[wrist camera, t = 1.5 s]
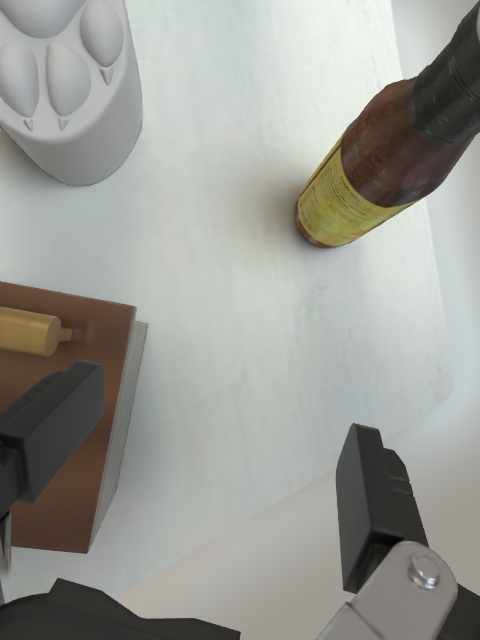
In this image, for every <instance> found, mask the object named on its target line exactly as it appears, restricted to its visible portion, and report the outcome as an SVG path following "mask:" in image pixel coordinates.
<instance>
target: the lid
mask: <svg viewBox="0 0 480 640" xmlns="http://www.w3.org/2000/svg"><path fill="white" fill-rule="evenodd" d="M136 311H137V307H135V306H131V305H126V304H120V303H115V302H109V301H104V300H98V299H93V298H88V297H82V296H77V295H71V294H66V293H61V292H55V291H50V290H44V289H39V288H33V287H28V286H23V285H17V284H12V283H6V282H1V281H0V413H2V412H3V411H4V410H5V409H6V408H7V407H9V406H10V405H11V404H12V403H13V402H15V401H16V400H17V399H20V398H21V396H22V395H23V394H24V393H25V392H27V391H28V390H31V387H33V386H34V385H35V384H36V383H37V382H39V381H40V380H41V379H42V378H44V377H46V376H48V375H51V374H53V373H55V372H57V371H63V372H65V371H66V370H67V369H68V368H69V367H70V366H71V365H73V364H74V363H75V362H76V361H77V360H80V359H81V360H85V361H89V362H94V363H98V364H102V365H103V366H104V368H105V407H104V411H103V414H102V416H101V418H100V420H99V421H98V423H97V424H96V425H95V427H94V428H93V429H92V430H91V432H90V433H89V434H88V435H87V437H86V438H85V439H84V440H83V442H82V443H81V444H80V445H79V447H78V448H77V449H76V450H75V452H74V453H73V454H72V455H71V457H70V458H69V459H68V460H67V462H66V463H65V464H64V465H63V467H62V468H61V469H60V470H59V472H58V473H57V474H56V475H55V477H54V478H53V479H52V481H51V482H50V483H49V484H48V486H47V487H46V488H45V489H44V491H43V492H42V493H41V494H40V496H39V497H38V498H37V499H36V501H35V502H34V503H33V504H32V505H30V504H27V503H23V502H20V501H16V502H15V503H14V504H13V506H12V507H11V513H12V531H11V546H13V547H23V548H33V549H43V550H53V551H63V552H73V553H83V554H87V553H88V551H89V549H90V547H91V543H92V538H93V533H94V528H95V522H96V517H97V512H98V507H99V502H100V497H101V491H102V486H103V481H104V476H105V471H106V466H107V460H108V455H109V450H110V445H111V440H112V435H113V429H114V424H115V419H116V414H117V409H118V404H119V398H120V393H121V388H122V383H123V378H124V373H125V367H126V362H127V357H128V352H129V347H130V342H131V336H132V331H133V326H134V321H135V316H136Z"/></svg>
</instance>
